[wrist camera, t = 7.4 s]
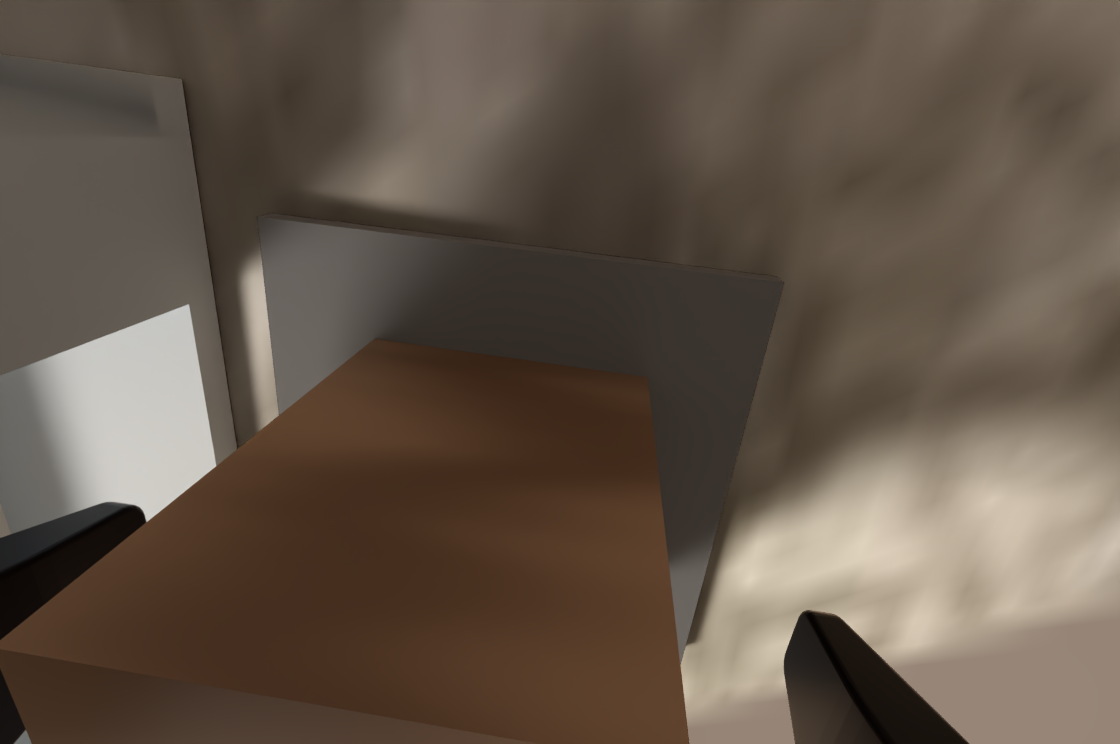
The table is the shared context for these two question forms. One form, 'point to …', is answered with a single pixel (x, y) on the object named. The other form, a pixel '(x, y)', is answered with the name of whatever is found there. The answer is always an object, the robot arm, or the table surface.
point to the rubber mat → (540, 338)
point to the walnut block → (386, 575)
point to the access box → (102, 297)
